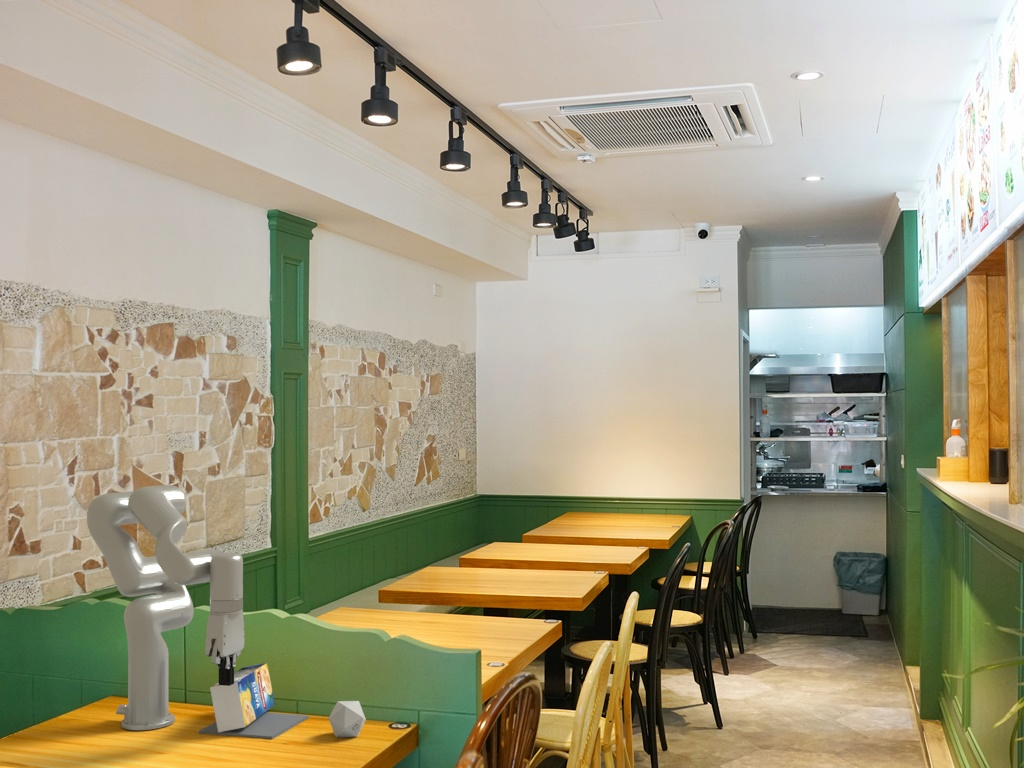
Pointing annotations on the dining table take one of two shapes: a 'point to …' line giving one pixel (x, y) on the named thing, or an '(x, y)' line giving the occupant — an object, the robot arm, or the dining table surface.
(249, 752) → the dining table surface
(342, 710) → the die
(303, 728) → the dining table surface
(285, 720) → the mat
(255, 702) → the beverage box
